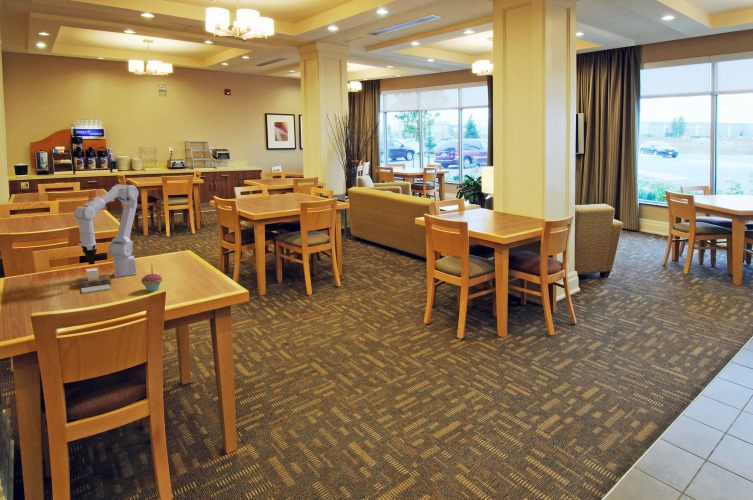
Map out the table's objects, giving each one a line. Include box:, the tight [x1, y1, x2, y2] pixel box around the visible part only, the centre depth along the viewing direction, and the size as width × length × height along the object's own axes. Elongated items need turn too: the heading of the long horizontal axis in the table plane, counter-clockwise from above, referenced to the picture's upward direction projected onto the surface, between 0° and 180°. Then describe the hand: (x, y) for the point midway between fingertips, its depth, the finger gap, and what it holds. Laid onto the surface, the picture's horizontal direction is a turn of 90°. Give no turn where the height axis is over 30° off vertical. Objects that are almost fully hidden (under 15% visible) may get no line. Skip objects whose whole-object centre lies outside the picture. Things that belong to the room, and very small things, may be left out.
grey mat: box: [80, 284, 111, 294], centre depth 228 cm, size 11×7×1 cm, turn 122°
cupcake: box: [141, 263, 163, 292], centre depth 226 cm, size 9×8×12 cm
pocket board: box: [76, 274, 112, 290], centre depth 236 cm, size 13×9×2 cm
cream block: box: [85, 267, 100, 281], centre depth 235 cm, size 4×4×7 cm
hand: (91, 262), depth 234 cm, fingers open, 7 cm apart
